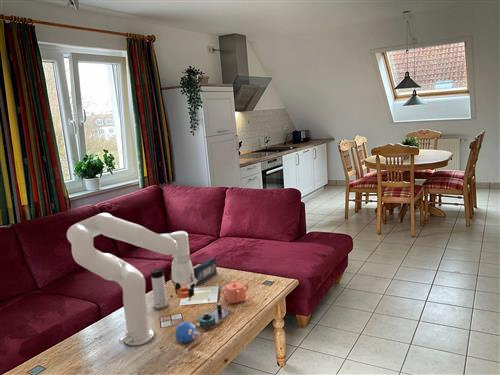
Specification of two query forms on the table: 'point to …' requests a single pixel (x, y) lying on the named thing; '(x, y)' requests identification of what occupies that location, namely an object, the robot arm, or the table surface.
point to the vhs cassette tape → (205, 270)
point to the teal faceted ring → (207, 322)
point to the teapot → (235, 292)
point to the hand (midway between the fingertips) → (185, 294)
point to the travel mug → (159, 289)
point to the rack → (216, 315)
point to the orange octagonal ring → (183, 292)
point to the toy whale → (186, 332)
